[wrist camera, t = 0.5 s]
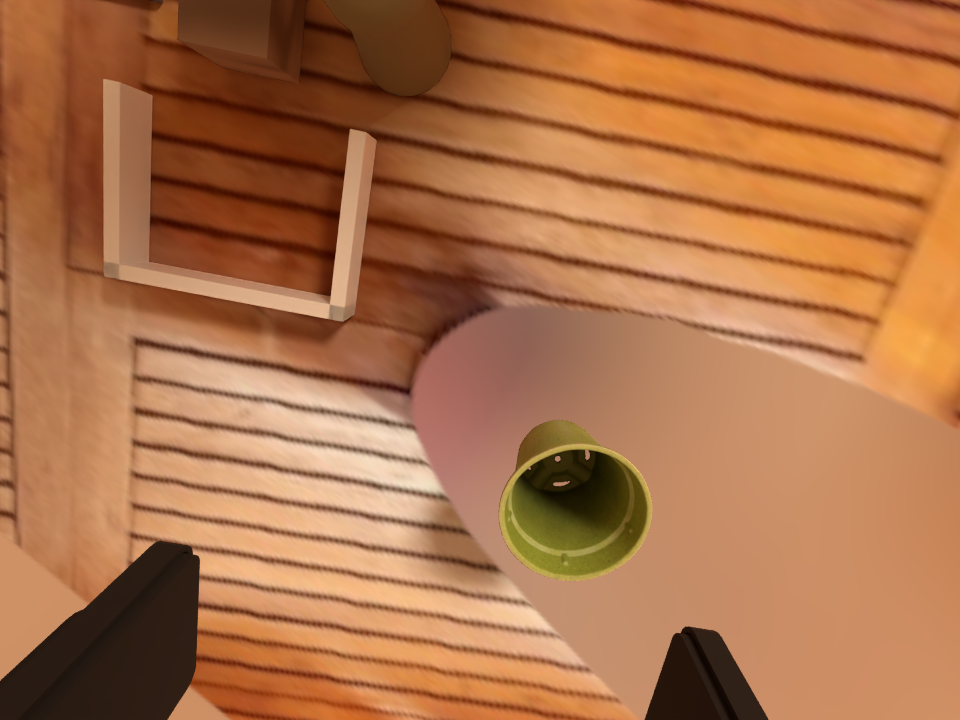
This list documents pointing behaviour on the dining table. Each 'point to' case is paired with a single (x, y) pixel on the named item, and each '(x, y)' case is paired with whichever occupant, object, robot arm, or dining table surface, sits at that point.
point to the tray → (130, 262)
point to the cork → (398, 41)
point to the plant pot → (573, 505)
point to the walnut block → (246, 34)
